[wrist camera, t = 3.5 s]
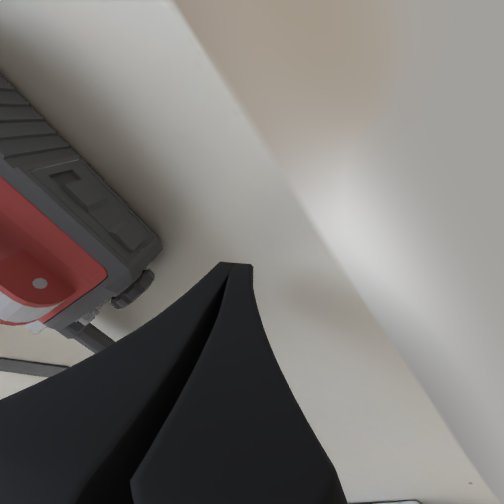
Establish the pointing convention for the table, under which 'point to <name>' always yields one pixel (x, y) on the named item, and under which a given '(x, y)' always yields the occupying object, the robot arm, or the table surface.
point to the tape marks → (30, 368)
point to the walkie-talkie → (62, 233)
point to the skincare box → (403, 503)
